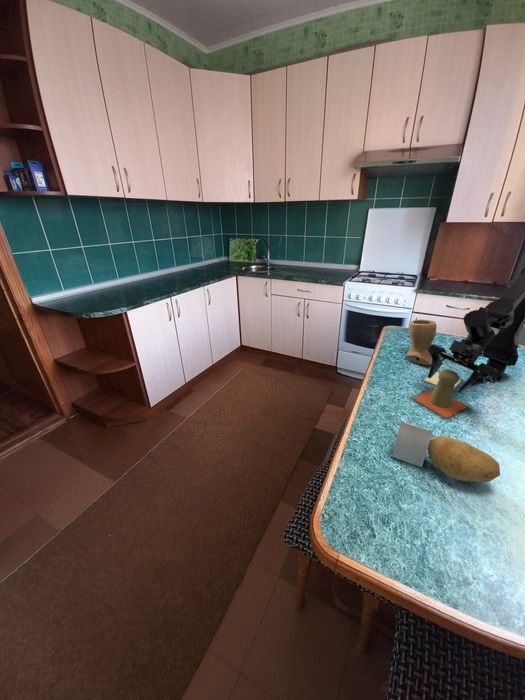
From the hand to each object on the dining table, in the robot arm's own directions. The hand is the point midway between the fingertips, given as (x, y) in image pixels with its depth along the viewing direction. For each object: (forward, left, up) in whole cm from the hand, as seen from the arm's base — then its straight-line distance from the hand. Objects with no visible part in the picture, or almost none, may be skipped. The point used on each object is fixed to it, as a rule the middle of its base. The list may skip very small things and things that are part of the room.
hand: (443, 385), depth 87 cm
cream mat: (-14, -6, -7) cm, 17 cm away
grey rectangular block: (+27, +7, -8) cm, 29 cm away
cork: (-2, 0, -7) cm, 7 cm away
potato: (+21, +16, -8) cm, 28 cm away
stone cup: (-24, -21, -8) cm, 33 cm away
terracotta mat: (-1, 0, -7) cm, 7 cm away
